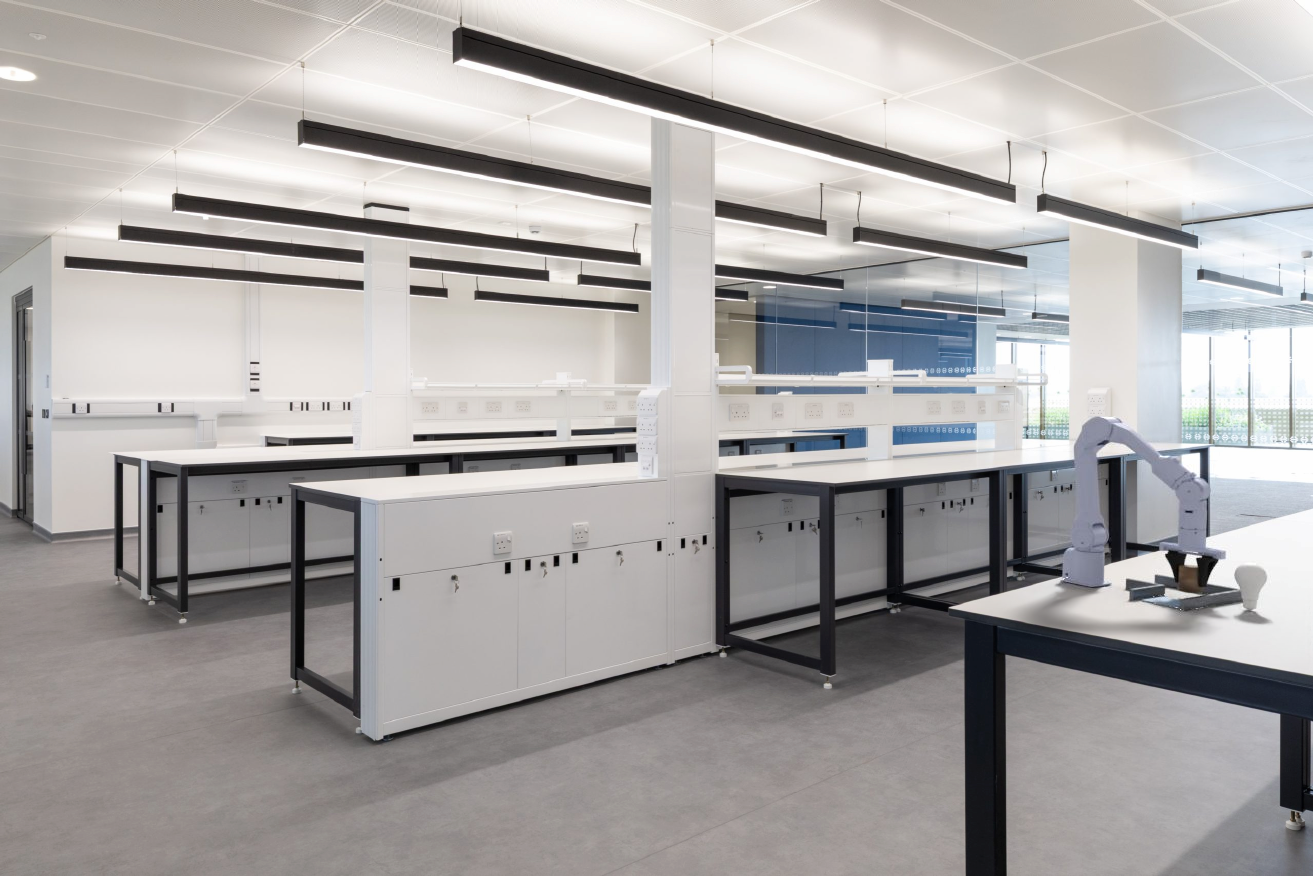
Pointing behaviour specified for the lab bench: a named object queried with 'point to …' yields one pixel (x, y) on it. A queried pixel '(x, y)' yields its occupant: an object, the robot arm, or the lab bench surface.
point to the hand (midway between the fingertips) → (1190, 584)
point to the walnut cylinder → (1189, 579)
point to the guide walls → (1214, 597)
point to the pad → (1164, 601)
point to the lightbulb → (1250, 583)
